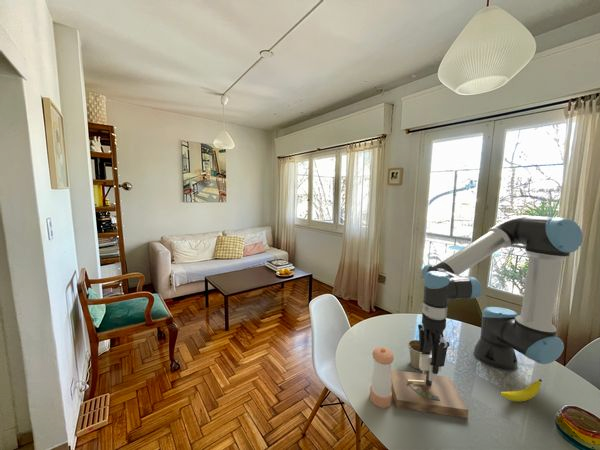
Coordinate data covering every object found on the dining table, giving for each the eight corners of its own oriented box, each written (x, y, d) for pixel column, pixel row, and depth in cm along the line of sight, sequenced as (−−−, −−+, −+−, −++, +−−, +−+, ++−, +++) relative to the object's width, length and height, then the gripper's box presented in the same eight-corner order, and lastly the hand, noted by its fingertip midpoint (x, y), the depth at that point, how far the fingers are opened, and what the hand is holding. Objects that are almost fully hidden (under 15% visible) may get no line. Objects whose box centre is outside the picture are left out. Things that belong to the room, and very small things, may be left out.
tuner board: (448, 384, 95) (449, 376, 95) (467, 418, 80) (468, 409, 80) (388, 376, 99) (388, 368, 98) (396, 407, 84) (397, 398, 83)
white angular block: (437, 382, 91) (439, 355, 90) (439, 386, 89) (442, 358, 88) (406, 380, 92) (408, 353, 91) (408, 384, 90) (410, 356, 89)
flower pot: (434, 374, 100) (435, 354, 99) (409, 371, 102) (410, 351, 101) (427, 359, 109) (428, 341, 108) (404, 356, 111) (405, 338, 110)
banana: (494, 402, 87) (496, 385, 86) (534, 392, 92) (536, 376, 91) (503, 409, 84) (505, 391, 83) (543, 398, 89) (546, 382, 88)
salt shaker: (377, 410, 83) (380, 356, 81) (365, 393, 90) (368, 343, 88) (395, 405, 85) (399, 353, 83) (383, 389, 92) (386, 340, 90)
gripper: (411, 306, 95) (407, 363, 97) (440, 327, 79) (435, 394, 82) (428, 305, 96) (424, 361, 99) (461, 325, 81) (455, 392, 83)
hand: (429, 376), depth 90 cm, fingers closed on white angular block, 3 cm apart
